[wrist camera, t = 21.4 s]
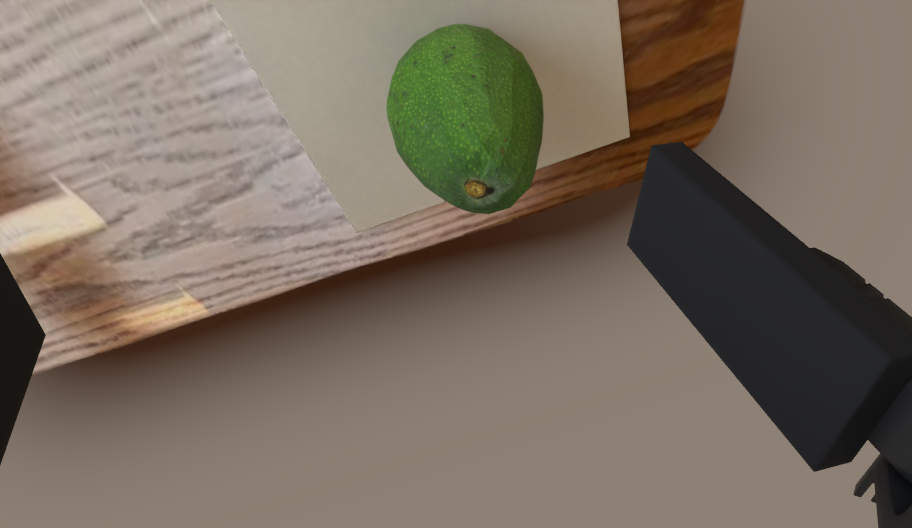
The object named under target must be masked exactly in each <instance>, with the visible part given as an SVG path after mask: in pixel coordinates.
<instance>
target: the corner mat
mask: <svg viewBox="0 0 912 528" xmlns="http://www.w3.org/2000/svg"><path fill="white" fill-rule="evenodd" d="M210 1H211V3H212V4H213V6H214V7H215V9H216V11H217V12H218V14H219V15H220V17H221V19H222V20H223V22H224V23H225V25H226V27H227V28H228V30H229V31H230V33H231V34H232V36H233V38H234V39H235V41H236V42H237V44H238V46H239V47H240V49H241V50H242V52H243V54H244V55H245V57H246V58H247V60H248V62H249V63H250V65H251V66H252V68H253V69H254V71H255V73H256V74H257V76H258V77H259V79H260V81H261V82H262V84H263V85H264V87H265V89H266V90H267V92H268V93H269V95H270V96H271V98H272V100H273V101H274V103H275V104H276V106H277V108H278V109H279V111H280V112H281V114H282V116H283V117H284V119H285V120H286V122H287V124H288V125H289V127H290V128H291V130H292V131H293V133H294V135H295V136H296V138H297V139H298V141H299V143H300V144H301V146H302V147H303V149H304V151H305V152H306V154H307V155H308V157H309V158H310V160H311V162H312V163H313V165H314V166H315V168H316V170H317V171H318V173H319V174H320V176H321V178H322V179H323V181H324V182H325V184H326V186H327V187H328V189H329V190H330V192H331V193H332V195H333V197H334V198H335V200H336V201H337V203H338V205H339V206H340V208H341V209H342V211H343V213H344V214H345V216H346V217H347V219H348V220H349V222H350V224H351V225H352V227H353V228H354V230H355V232H356V233H357V232H360V231H363V230H366V229H369V228H372V227H375V226H377V225H380V224H383V223H386V222H389V221H392V220H394V219H397V218H400V217H403V216H406V215H409V214H412V213H414V212H417V211H420V210H423V209H426V208H429V207H431V206H434V205H437V204H440V203H443V202H446V201H445V200H443V199H442V198H440V197H439V196H437V195H436V194H434V193H433V192H431V191H430V190H429V189H427V188H426V187H424V186H423V184H422V183H421V182H420V181H419V180H418V179H417V178H416V176H415V175H414V174H413V173H412V172H411V171H410V170H409V168H408V167H407V166H406V164H405V163H404V161H403V160H402V158H401V157H400V155H399V154H398V153H397V149H396V146H395V142H394V139H393V135H392V132H391V128H390V125H389V121H388V118H387V98H388V93H389V89H390V84H391V79H392V76H393V74H394V71H395V69H396V66H397V64H398V61H399V60H400V59H401V58H402V57H403V55H404V54H405V53H406V52H407V51H408V50H409V49H410V47H411V46H412V45H413V44H414V43H415V42H416V41H417V40H419V39H421V38H422V37H424V36H426V35H428V34H429V33H431V32H433V31H434V30H436V29H438V28H442V27H446V26H450V25H453V24H468V25H472V26H477V27H482V28H487V29H489V30H491V31H492V32H494V33H495V34H496V35H498V36H499V37H501V38H502V39H504V40H505V41H506V42H508V43H509V44H511V45H512V46H513V47H515V48H516V49H517V50H519V51H520V52H522V54H523V55H524V57H525V59H526V60H527V62H528V64H529V65H530V67H531V69H532V71H533V72H534V75H535V77H536V80H537V82H538V85H539V87H540V89H541V92H542V96H543V111H544V121H543V135H542V143H541V148H540V152H539V156H538V161H537V167H536V170H537V169H540V168H543V167H545V166H548V165H551V164H554V163H557V162H560V161H562V160H565V159H568V158H571V157H574V156H577V155H580V154H582V153H585V152H588V151H591V150H594V149H597V148H600V147H602V146H605V145H608V144H611V143H614V142H617V141H619V140H622V139H625V138H628V137H630V132H629V121H628V110H627V99H626V88H625V76H624V65H623V54H622V43H621V31H620V20H619V9H618V0H210Z"/></svg>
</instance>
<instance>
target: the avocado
mask: <svg viewBox="0 0 912 528" xmlns="http://www.w3.org/2000/svg"><path fill="white" fill-rule="evenodd" d="M387 118H388V121H389V125H390V128H391V132H392V135H393V139H394V142H395V146H396V149H397V153H398V154H399V155H400V157H401V158H402V160H403V161H404V163H405V164H406V166H407V167H408V168H409V170H410V171H411V172H412V173H413V174H414V175H415V176H416V178H417V179H418V180H419V181H420V182H421V183H422V184H423V186H424V187H426V188H427V189H429V190H430V191H431V192H433V193H434V194H436V195H437V196H439V197H440V198H442V199H443V200H445V201H447V202H449V203H450V204H452V205H454V206H456V207H458V208H460V209H463V210H465V211H469V212H473V213H484V214H490V213H494V212H497V211H500V210H504V209H507V208H510V207H511V206H512V205H513V204H514V203H515V202H516V201H517V200H518V199H519V198H520V197H521V196H522V195H523V194H524V193H525V192H526V191H527V190H528V189H529V187H530V185H531V182H532V180H533V177H534V174H535V171H536V167H537V161H538V156H539V152H540V148H541V143H542V135H543V121H544V111H543V96H542V92H541V89H540V87H539V85H538V82H537V80H536V77H535V75H534V72H533V71H532V69H531V67H530V65H529V64H528V62H527V60H526V59H525V57H524V55H523V54H522V52H520V51H519V50H517V49H516V48H515V47H513V46H512V45H511V44H509V43H508V42H506V41H505V40H504V39H502V38H501V37H499V36H498V35H496V34H495V33H494V32H492V31H491V30H489V29H487V28H482V27H477V26H472V25H468V24H453V25H450V26H446V27H442V28H438V29H436V30H434V31H433V32H431V33H429V34H428V35H426V36H424V37H422V38H421V39H419V40H417V41H416V42H415V43H414V44H413V45H412V46H411V47H410V49H409V50H408V51H407V52H406V53H405V54H404V55H403V57H402V58H401V59H400V60H399V61H398V64H397V66H396V69H395V71H394V74H393V76H392V79H391V84H390V89H389V93H388V98H387Z"/></svg>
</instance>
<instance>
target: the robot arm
mask: <svg viewBox="0 0 912 528" xmlns="http://www.w3.org/2000/svg"><path fill="white" fill-rule="evenodd" d="M627 245H628V246H629V248H630V249H631V250H632V251H633V252H634V253H635V255H636V256H637V257H638V258H639V260H640V261H641V262H642V263H643V265H644V266H645V267H646V268H647V269H648V271H649V272H650V273H651V274H652V275H653V277H654V278H655V279H656V280H657V282H658V283H659V284H660V285H661V286H662V287H663V289H664V290H665V291H666V292H667V294H668V295H669V296H670V297H671V299H672V300H673V301H674V302H675V303H676V305H677V306H678V307H679V308H680V310H682V312H683V313H684V314H685V316H686V317H687V318H688V319H689V320H690V321H691V323H692V324H693V325H694V327H696V329H697V330H698V331H699V333H700V334H701V335H702V336H703V337H704V339H705V340H706V341H707V342H708V343H709V345H710V346H711V347H712V348H713V349H714V351H715V352H716V353H717V354H718V356H719V357H720V358H721V359H722V361H723V362H724V363H725V364H726V365H727V367H728V368H729V369H730V370H731V371H732V373H733V374H734V375H735V376H736V378H737V379H738V380H739V381H740V382H741V384H742V385H743V386H744V387H745V388H746V390H747V391H748V392H749V393H750V395H751V396H752V397H753V398H754V399H755V401H756V402H757V403H758V404H759V405H760V407H761V408H762V409H763V410H764V411H765V413H766V414H767V415H768V416H769V418H770V419H771V420H772V421H773V422H774V424H775V425H776V426H777V427H778V429H779V430H780V431H781V432H782V433H783V435H784V436H785V437H786V438H787V439H788V440H789V442H790V443H791V444H792V446H793V447H794V448H795V449H796V450H797V452H798V453H799V454H800V455H801V456H802V458H803V459H804V460H805V461H806V463H807V464H808V465H809V466H810V467H811V469H812V470H813V471H814V472H815V471H819V470H823V469H826V468H830V467H834V466H838V465H841V464H845V463H849V462H851V461H852V460H853V459H854V457H855V456H856V455H857V453H858V452H859V450H860V449H861V448H862V446H863V445H864V444H865V442H866V441H867V440H869V441H870V442H871V444H873V446H874V447H875V448H876V449H877V450H878V451H879V452H880V455H879V456H878V457H877V458H876V460H875V461H874V462H873V464H872V465H871V466H870V467H869V469H868V470H867V471H866V473H865V474H864V475H863V477H862V478H861V479H860V481H859V482H858V483H857V484H856V487H855V491H854V495H855V496H858V497H861V496H862V495H863V494H864V493H865V492H866V490H867V489H868V488H869V487H870V485H871V484H872V483H875V495H874V497H873V498H872V499H871V501H872V502H875V503H876V504H877V516H878V527H879V528H912V317H911V316H909V315H908V314H907V313H906V312H905V311H903V310H902V309H901V308H900V307H898V306H897V305H896V304H895V303H893V302H892V301H891V300H890V299H888V298H887V299H884V297H883V294H882V293H881V292H880V291H879V290H877V289H876V288H875V287H874V286H872V285H871V284H870V283H869V284H866V283H865V279H864V278H862V277H861V276H860V275H859V274H857V273H856V272H855V271H854V270H852V269H851V268H850V267H849V266H848V265H846V264H845V263H844V262H842V261H840V260H838V259H836V258H834V257H832V256H831V255H829V254H827V253H825V252H822V251H821V250H819V249H817V248H809V247H808V246H806V245H805V244H804V243H803V242H802V241H800V240H799V239H798V238H797V237H796V236H794V235H793V234H792V233H791V232H789V231H788V230H787V229H786V228H785V227H783V226H782V225H781V224H780V223H779V222H778V221H776V220H775V219H774V218H773V217H772V216H770V215H769V214H768V213H767V212H765V211H764V210H763V209H762V208H761V207H759V206H758V205H757V204H756V203H755V202H754V201H752V200H751V199H750V198H749V197H747V196H746V195H745V194H744V193H743V192H741V191H740V190H739V189H738V188H737V187H735V186H734V185H733V184H732V183H731V182H729V181H728V180H727V179H726V178H725V177H723V176H722V175H721V174H720V173H719V172H717V171H716V170H715V169H714V168H712V167H711V166H710V165H709V164H708V163H706V162H705V161H704V160H703V159H702V158H701V157H699V156H698V155H697V154H696V153H694V152H693V151H692V150H691V149H690V148H689V147H687V146H686V145H685V144H684V143H683V142H677V143H668V144H660V145H652V146H651V150H650V154H649V158H648V162H647V166H646V170H645V174H644V178H643V182H642V186H641V190H640V195H639V199H638V203H637V207H636V211H635V215H634V219H633V223H632V227H631V231H630V235H629V239H628V243H627ZM44 338H45V333H44V331H43V329H42V327H41V326H40V324H39V322H38V320H37V318H36V317H35V315H34V313H33V311H32V309H31V308H30V306H29V304H28V302H27V300H26V299H25V297H24V295H23V293H22V291H21V290H20V288H19V286H18V284H17V283H16V281H15V279H14V277H13V275H12V274H11V272H10V270H9V268H8V266H7V265H6V263H5V261H4V259H3V257H2V256H1V254H0V464H1V461H2V459H3V456H4V453H5V450H6V447H7V444H8V441H9V438H10V436H11V433H12V430H13V427H14V424H15V421H16V418H17V415H18V413H19V410H20V407H21V404H22V401H23V398H24V396H25V393H26V390H27V387H28V384H29V381H30V378H31V376H32V373H33V370H34V367H35V364H36V361H37V358H38V355H39V353H40V350H41V347H42V344H43V341H44Z"/></svg>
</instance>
